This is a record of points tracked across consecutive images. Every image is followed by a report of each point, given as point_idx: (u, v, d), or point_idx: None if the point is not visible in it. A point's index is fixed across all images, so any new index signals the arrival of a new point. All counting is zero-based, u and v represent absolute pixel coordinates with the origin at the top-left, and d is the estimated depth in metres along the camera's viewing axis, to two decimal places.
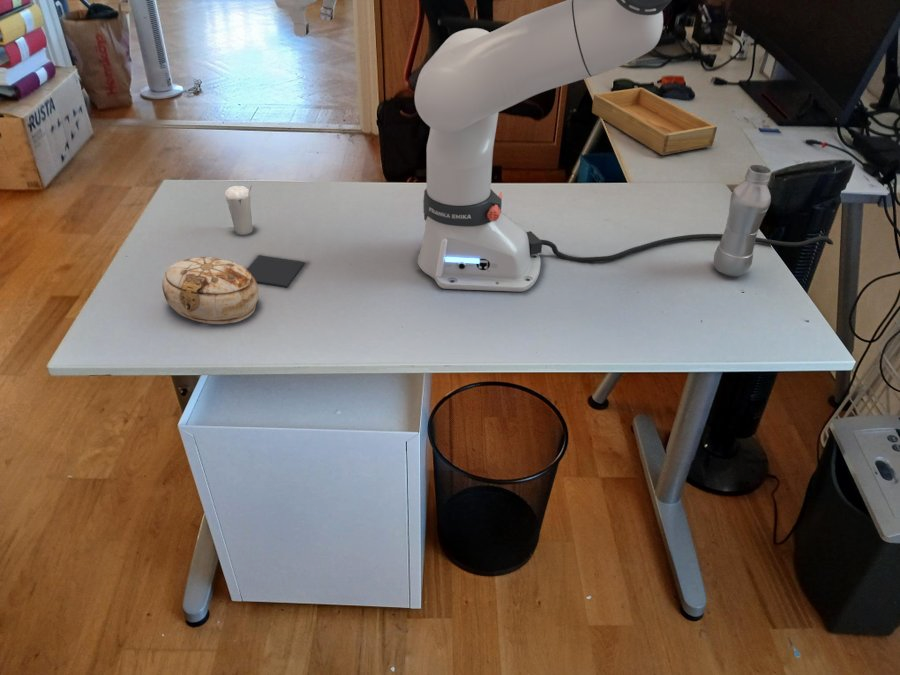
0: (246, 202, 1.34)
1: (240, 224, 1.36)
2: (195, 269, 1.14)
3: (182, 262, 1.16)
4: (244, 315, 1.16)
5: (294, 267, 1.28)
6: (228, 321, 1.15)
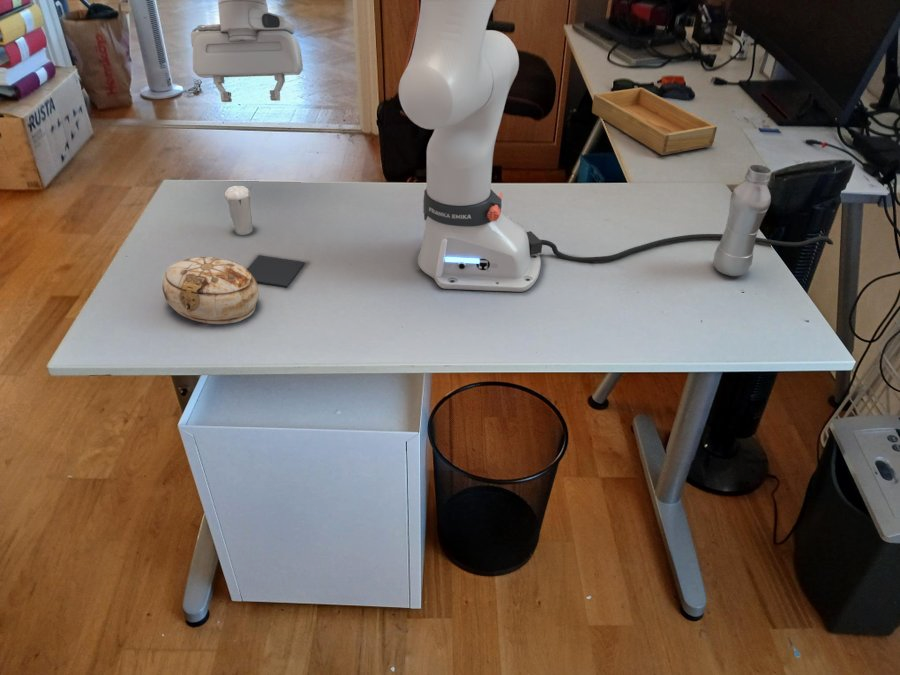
0: (246, 202, 1.34)
1: (240, 224, 1.36)
2: (195, 269, 1.14)
3: (182, 262, 1.16)
4: (244, 315, 1.16)
5: (294, 267, 1.28)
6: (228, 321, 1.15)
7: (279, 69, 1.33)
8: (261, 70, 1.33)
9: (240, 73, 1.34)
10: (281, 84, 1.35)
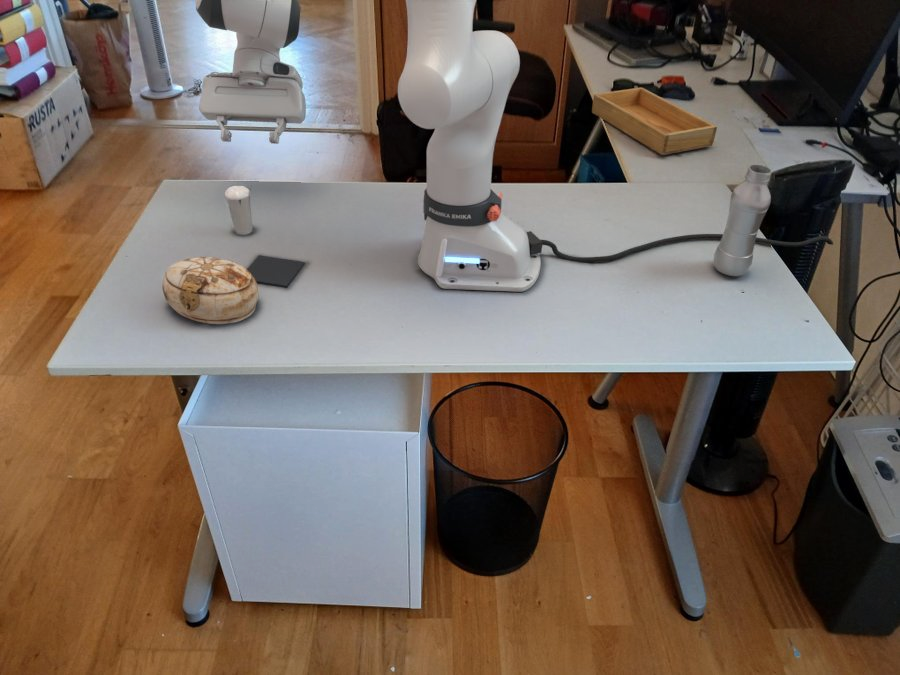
0: (246, 202, 1.34)
1: (240, 224, 1.36)
2: (195, 269, 1.14)
3: (182, 262, 1.16)
4: (244, 315, 1.16)
5: (294, 267, 1.28)
6: (228, 321, 1.15)
7: (282, 113, 1.37)
8: (264, 112, 1.37)
9: (244, 114, 1.37)
10: (282, 128, 1.38)
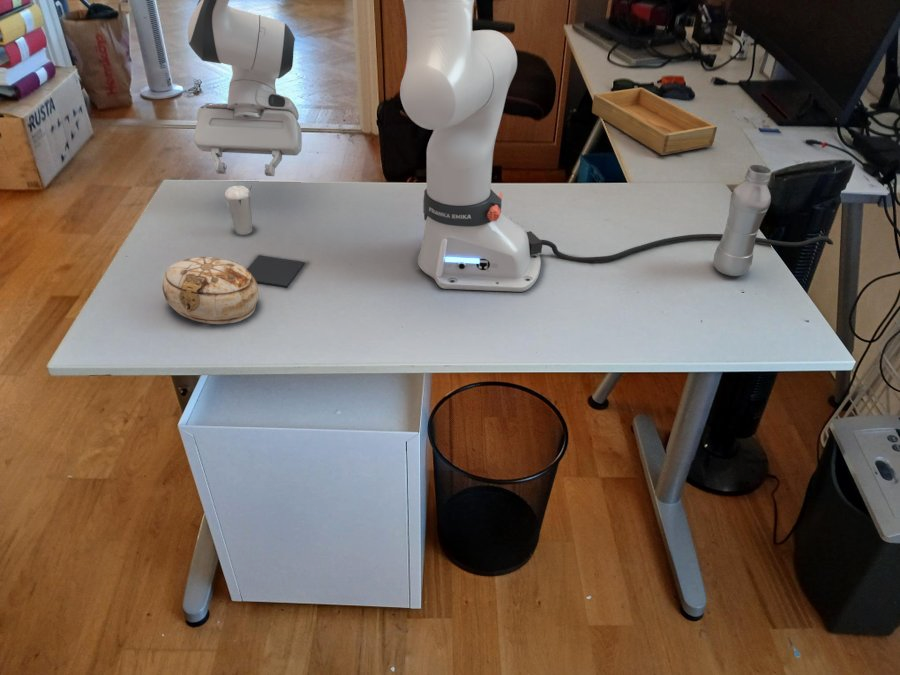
0: (246, 202, 1.34)
1: (240, 224, 1.36)
2: (195, 269, 1.14)
3: (182, 262, 1.16)
4: (244, 315, 1.16)
5: (294, 267, 1.28)
6: (228, 321, 1.15)
7: (277, 145, 1.35)
8: (260, 145, 1.35)
9: (239, 146, 1.36)
10: (277, 160, 1.37)
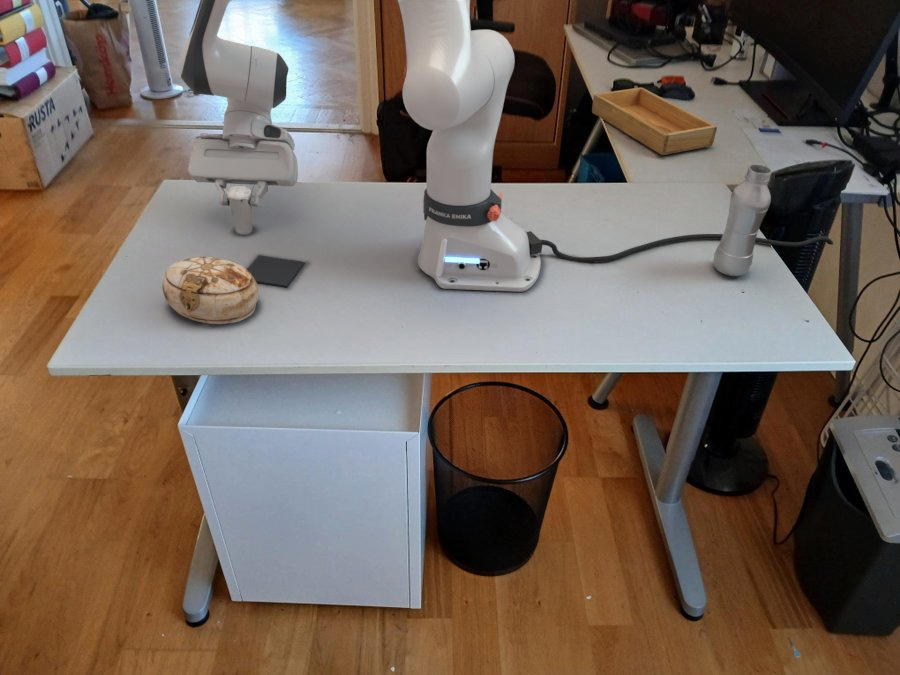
0: (248, 202, 1.34)
1: (240, 224, 1.36)
2: (195, 269, 1.14)
3: (182, 262, 1.16)
4: (244, 315, 1.16)
5: (294, 267, 1.28)
6: (228, 321, 1.15)
7: (273, 177, 1.34)
8: (255, 176, 1.34)
9: (234, 177, 1.34)
10: (263, 191, 1.35)
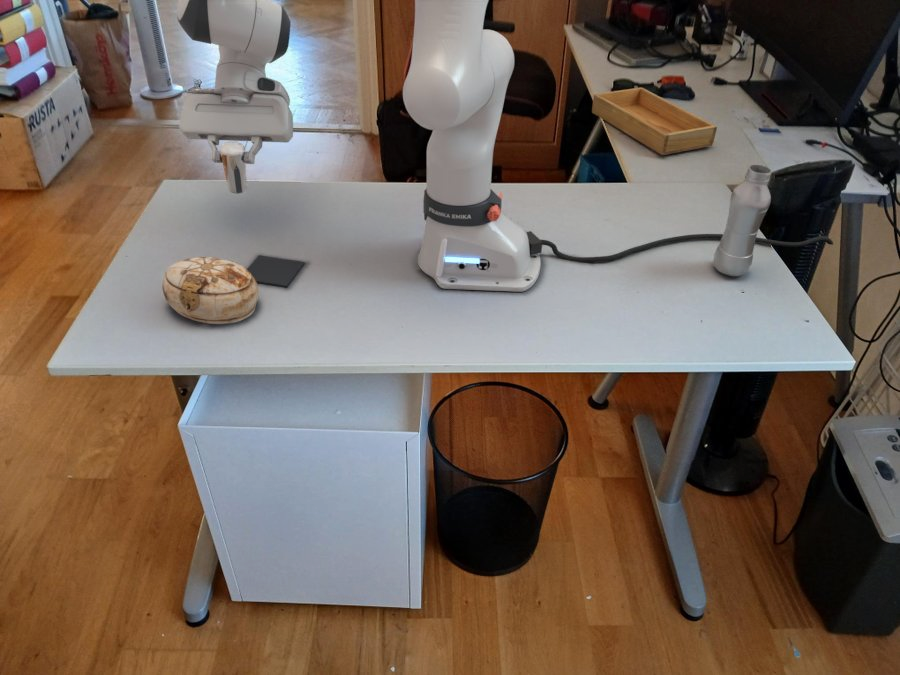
0: (241, 158, 1.29)
1: (234, 182, 1.31)
2: (195, 269, 1.14)
3: (182, 262, 1.16)
4: (244, 315, 1.16)
5: (294, 267, 1.28)
6: (228, 321, 1.15)
7: (267, 132, 1.28)
8: (249, 131, 1.28)
9: (226, 132, 1.28)
10: (257, 147, 1.29)
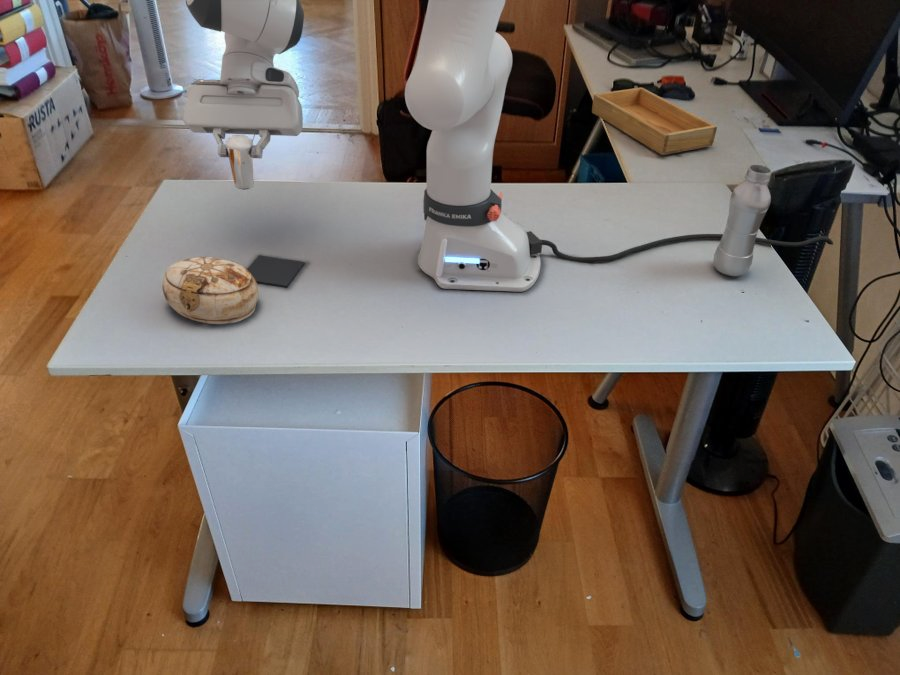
0: (248, 153, 1.23)
1: (241, 177, 1.25)
2: (195, 269, 1.14)
3: (182, 262, 1.16)
4: (244, 315, 1.16)
5: (294, 267, 1.28)
6: (228, 321, 1.15)
7: (276, 124, 1.22)
8: (256, 124, 1.22)
9: (233, 125, 1.23)
10: (265, 141, 1.24)
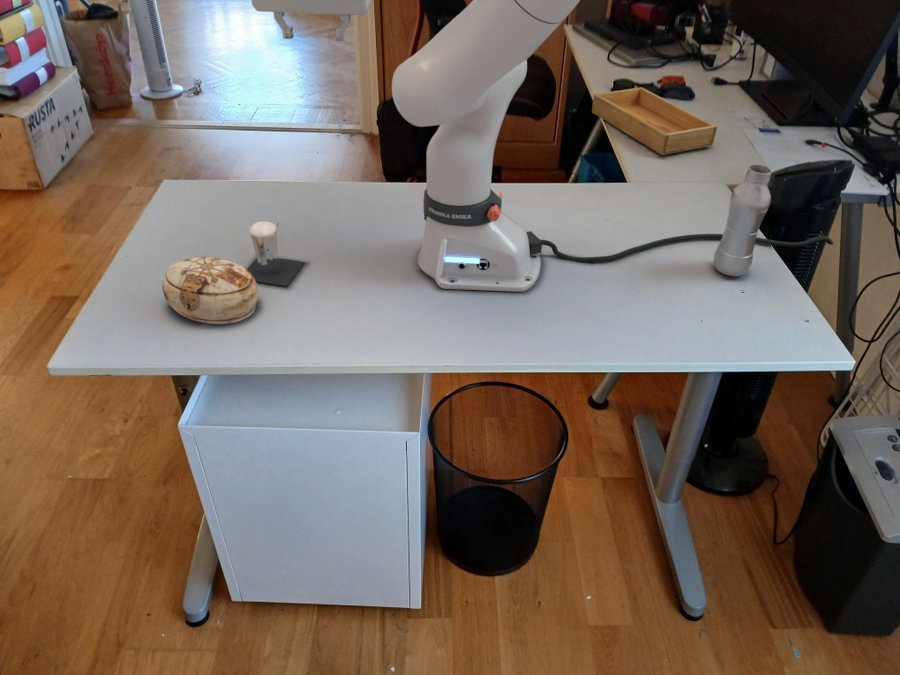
0: (273, 239, 1.23)
1: (266, 263, 1.25)
2: (195, 269, 1.14)
3: (182, 262, 1.16)
4: (244, 315, 1.16)
5: (294, 267, 1.28)
6: (228, 321, 1.15)
7: (346, 11, 1.23)
8: (327, 11, 1.23)
9: (304, 12, 1.23)
10: (347, 23, 1.25)
